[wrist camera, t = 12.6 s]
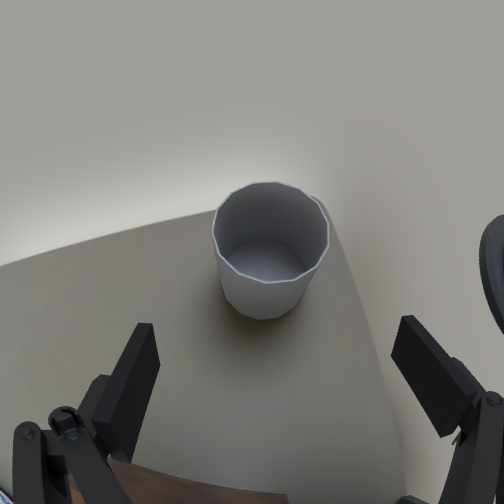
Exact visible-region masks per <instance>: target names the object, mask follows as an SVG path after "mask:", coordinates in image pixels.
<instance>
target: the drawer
mask: <svg viewBox="0 0 504 504" xmlns="http://www.w3.org/2000/svg"><path fill="white" fill-rule="evenodd" d="M400 504H428V503H426V502H424V501H422V500H420V499H418V498H415V497H413V496H411V495H409V496H403V497H401V500H400Z"/></svg>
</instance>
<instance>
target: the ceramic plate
mask: <svg viewBox="0 0 504 504" xmlns="http://www.w3.org/2000/svg"><path fill="white" fill-rule="evenodd" d="M0 504H14V503H13V502H12V501H11V500H10V499H9V498H8V497H7V496H6V495H5V494H4V493H3V492H2V491H1V490H0Z"/></svg>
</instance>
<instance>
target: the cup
mask: <svg viewBox="0 0 504 504" xmlns="http://www.w3.org/2000/svg"><path fill="white" fill-rule="evenodd" d="M211 233H212V239H213V244H214V249H215V255H216V260H217V265H218V270H219V275H220V280H221V284H222V287H223V291H224V294H225V297H226V300H227V301H228V302H229V303H230V304H231V305H232V306H233V307H234V308H235V309H236V310H237V311H238V312H239V313H240V314H243V315H246V316H249V317H251V318H254V319H257V320H263V319H273V318H279V317H281V316H282V315H284V314H285V313H287V312H289V311H290V310H292V309H293V308H295V306H296V304H297V303H298V301H299V299H300V298H301V296H302V294H303V293H304V291H305V289H306V287H307V286H308V284H309V282H310V280H311V279H312V277H313V275H314V273H315V271H316V270H317V268H318V266H319V264H320V262H321V260H322V259H323V257H324V255H325V253H326V251H327V249H328V247H329V222H328V220H327V218H326V216H325V215H324V213H323V211H322V209H321V207H320V205H319V203H318V202H316V201H315V200H314V199H313V198H311V197H310V196H309V195H308V194H306V193H305V192H304V191H303V190H301V189H300V188H297V187H294V186H291V185H288V184H285V183H281V182H278V181H268V182H252V183H250V184H248V185H246V186H243V187H241V188H239V189H237V190H235V191H233V192H231V193H230V194H229V195H228V196H227V198H226V199H225V200H224V201H223V202H222V203H221V205H220V206H219V207H218V208H217V209H216V212H215V217H214V221H213V226H212V230H211Z"/></svg>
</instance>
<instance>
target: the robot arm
mask: <svg viewBox="0 0 504 504" xmlns="http://www.w3.org/2000/svg"><path fill="white" fill-rule="evenodd" d="M502 260H503V270H504V247H503V256H502ZM391 357H392V359H393V360H394V362H395V364H396V365H397V367H398V368H399V370H400V371H401V373H402V374H403V376H404V378H405V379H406V381H407V382H408V384H409V386H410V387H411V389H412V391H413V392H414V394H415V395H416V397H417V399H418V401H419V402H420V404H421V406H422V407H423V409H424V411H425V412H426V414H427V416H428V417H429V419H430V421H431V423H432V424H433V426H434V428H435V429H436V431H437V433H438V435H439V436H440V438H442V437H445V436H447V435H450V434H453V432H454V431H455V429H456V428H457V426H458V425H459V426H460V428H461V431H460V432H459V434H458V435H457V436H456V438H455V439H454V441H453V442H452V445H454V443H455V442H456V441H457V443H456V447H455V451H454V455H453V459H452V463H451V466H450V470H449V473H448V476H447V480H446V483H445V486H444V489H443V492H442V495H441V498H440V500H439V503H438V504H493V502H494V497H495V494H496V504H504V398H502V397H501V396H500V395H499V394H498V393H496V392H493V391H488V392H486V391H485V390H484V388H483V387H482V386H481V385H480V383H479V382H478V381H477V380H476V379H475V377H474V376H473V375H471V373H470V371H469V370H467V368H466V367H465V366H464V364H463V363H462V362H461V361H459V360H458V359H456V358H455V357H453V358H451V357H450V356H449V355H448V354H447V353H446V352H445V350H444V349H443V348H442V347H441V346H440V345H439V344H438V343H437V341H436V340H435V339H434V338H433V337H432V336H431V334H430V333H429V332H428V331H427V330H426V329H425V328H424V327H423V325H421V323H420V322H419V321H418V320H417V319H416V318H415V317H414V316H413V315H409V316H402V318H401V322H400V326H399V329H398V333H397V336H396V340H395V343H394V347H393V350H392V353H391ZM159 368H160V361H159V356H158V351H157V346H156V341H155V336H154V330H153V325H152V323H138V324H137V326H136V328H135V330H134V332H133V334H132V335H131V337H130V339H129V341H128V343H127V345H126V347H125V349H124V351H123V353H122V355H121V357H120V359H119V361H118V363H117V364H116V366H115V368H114V370H113V373H112V375H111V376H109V375H102V374H100V375H99V376H98V377H97V378H96V379H95V380H93V381H92V383H91V385H90V387H89V389H88V391H87V393H86V395H85V397H84V398H83V400H82V402H81V404H80V406H79V408H78V410H76V409H74V408H72V407H68V406H63V407H59V408H57V409H55V410H54V411H53V412H52V413H51V414H50V416H49V418H48V424H49V425H50V427H51V428H52V430H41V429H40V427H39V426H38V425H37V424H36V423H34V422H29V421H27V422H23V423H21V424H20V425H18V426H17V428H16V429H15V432H14V440H13V466H12V477H13V503H14V504H73V502H72V497H71V491H70V485H69V479H68V474H72V476H73V478H74V480H75V482H76V485H77V487H78V489H79V491H80V493H81V495H82V497H83V499H84V501H85V503H86V504H133V502H132V501H131V499H130V498H129V496H128V495H127V493H126V492H125V490H124V489H123V487H122V485H121V484H120V482H119V481H118V479H117V477H116V476H115V474H114V472H113V470H112V469H111V467H110V465H109V463H108V462H107V458H108V455H109V454H110V455H111V457H112V459H113V460H115V461H119V462H124V463H130V464H131V461H132V457H133V453H134V450H135V446H136V443H137V439H138V436H139V432H140V429H141V426H142V422H143V419H144V416H145V412H146V409H147V406H148V403H149V399H150V396H151V393H152V390H153V387H154V384H155V381H156V377H157V374H158V371H159Z"/></svg>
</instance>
